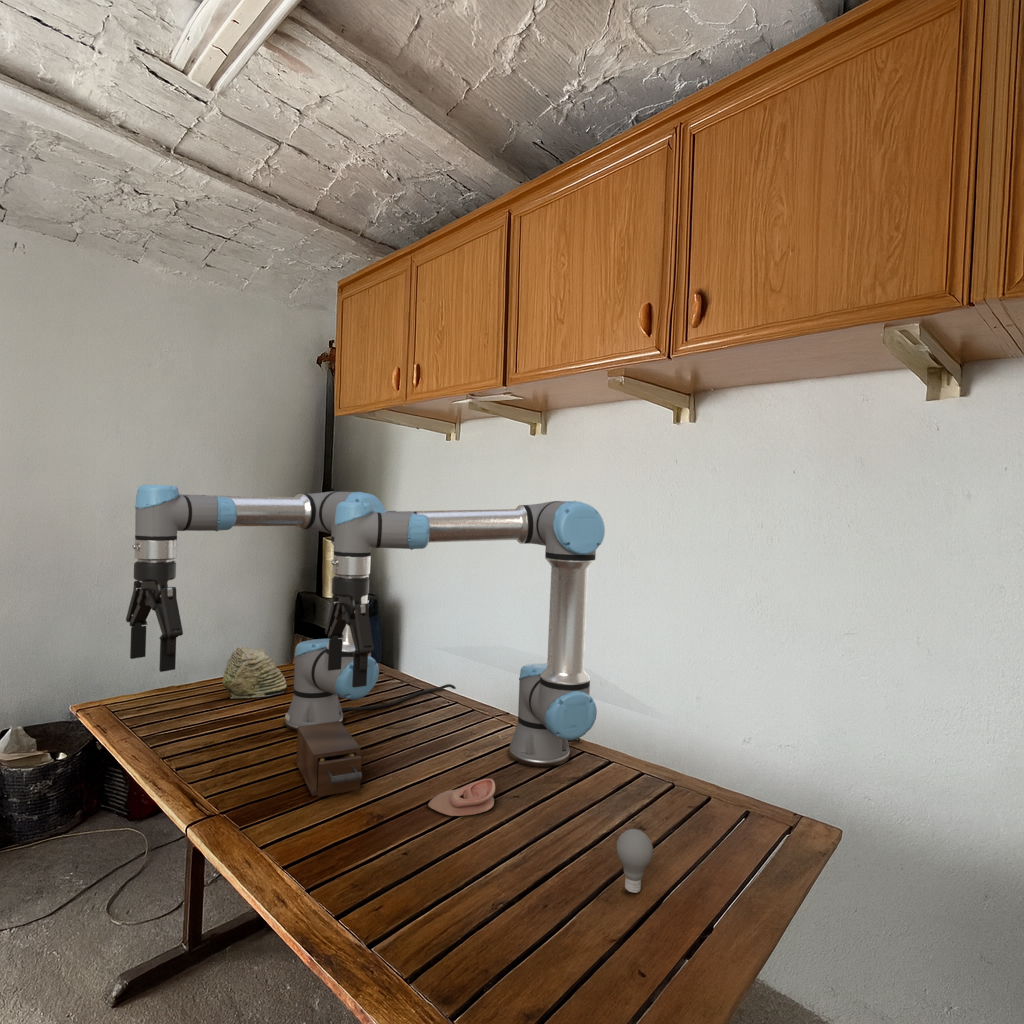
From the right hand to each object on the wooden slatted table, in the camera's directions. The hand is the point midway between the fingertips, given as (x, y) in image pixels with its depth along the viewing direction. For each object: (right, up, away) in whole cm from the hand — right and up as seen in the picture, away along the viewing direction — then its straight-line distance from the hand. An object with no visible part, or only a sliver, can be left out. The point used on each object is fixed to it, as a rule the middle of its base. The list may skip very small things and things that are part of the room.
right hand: (346, 677), depth 132 cm
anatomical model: (+24, -27, +1) cm, 36 cm away
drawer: (-5, -25, +7) cm, 26 cm away
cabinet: (-8, -25, +12) cm, 29 cm away
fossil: (-46, -23, +66) cm, 84 cm away
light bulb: (+55, -29, -26) cm, 67 cm away
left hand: (-39, +3, -2) cm, 39 cm away
